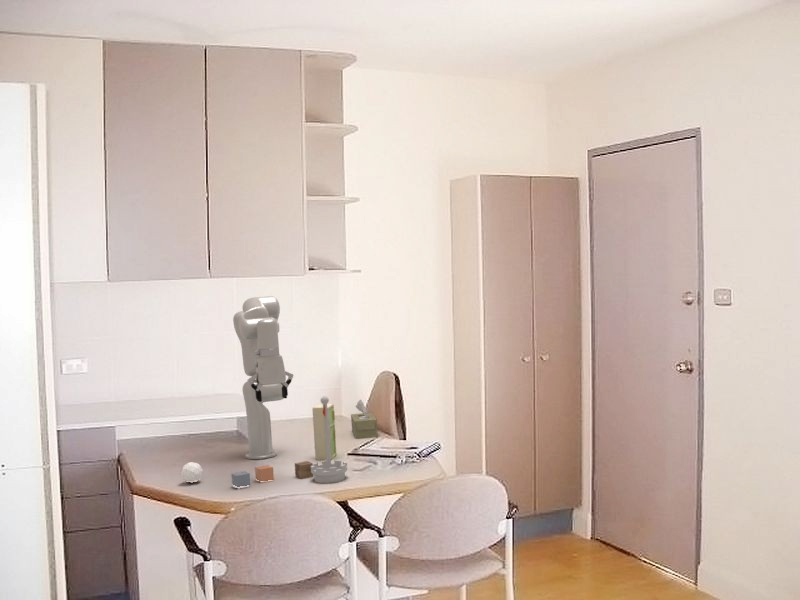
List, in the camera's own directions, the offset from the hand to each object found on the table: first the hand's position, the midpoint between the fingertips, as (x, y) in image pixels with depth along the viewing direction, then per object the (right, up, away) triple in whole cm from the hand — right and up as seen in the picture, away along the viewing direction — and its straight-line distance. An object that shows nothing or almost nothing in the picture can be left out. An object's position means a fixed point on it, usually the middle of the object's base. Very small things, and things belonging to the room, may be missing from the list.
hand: (272, 399), depth 330 cm
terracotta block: (-2, -29, -2) cm, 29 cm away
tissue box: (+31, -24, +73) cm, 83 cm away
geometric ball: (-29, -31, +2) cm, 43 cm away
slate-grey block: (-10, -30, -9) cm, 33 cm away
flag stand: (+21, -28, -5) cm, 36 cm away
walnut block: (+12, -28, +1) cm, 31 cm away
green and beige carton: (+18, -27, +30) cm, 44 cm away
